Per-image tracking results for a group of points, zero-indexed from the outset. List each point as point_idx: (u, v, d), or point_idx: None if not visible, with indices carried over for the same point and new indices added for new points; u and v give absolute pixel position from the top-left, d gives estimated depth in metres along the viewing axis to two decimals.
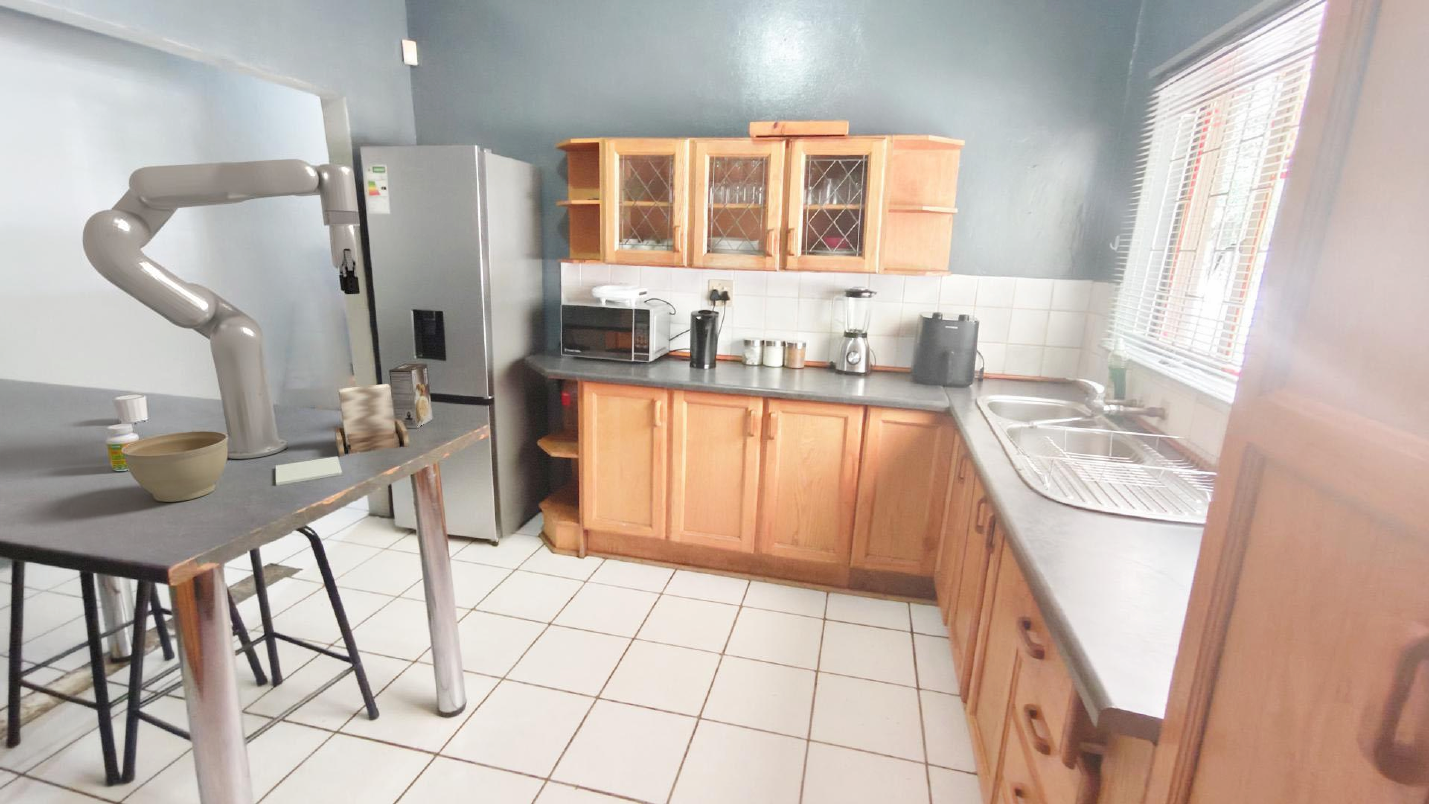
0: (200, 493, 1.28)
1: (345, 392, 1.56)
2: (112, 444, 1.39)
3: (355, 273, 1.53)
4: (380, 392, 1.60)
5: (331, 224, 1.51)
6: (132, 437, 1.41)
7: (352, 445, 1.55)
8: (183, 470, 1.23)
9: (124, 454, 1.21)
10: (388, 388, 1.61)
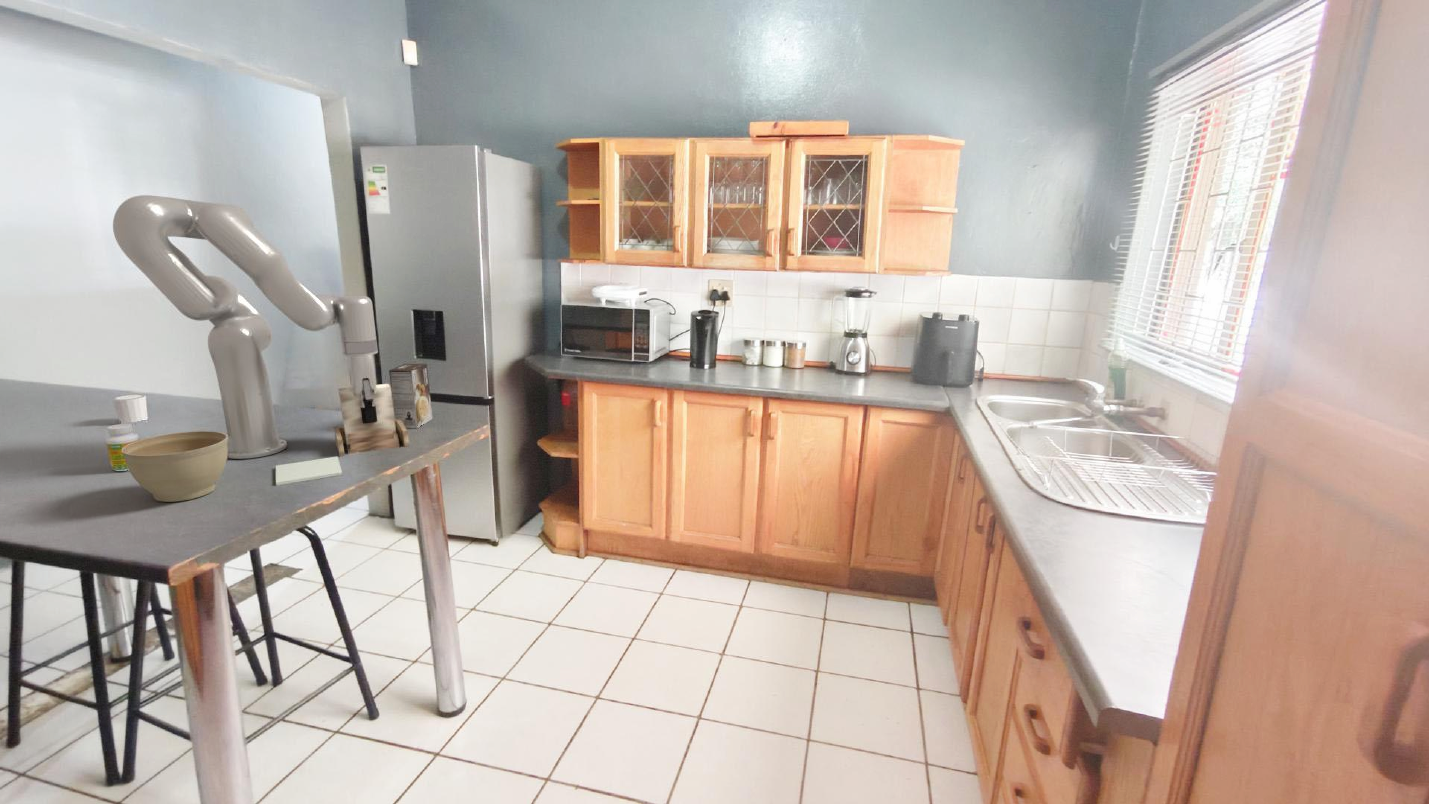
0: (200, 493, 1.28)
1: (345, 392, 1.56)
2: (112, 444, 1.39)
3: (373, 405, 1.59)
4: (380, 392, 1.60)
5: (350, 355, 1.54)
6: (132, 437, 1.41)
7: (352, 445, 1.55)
8: (183, 470, 1.23)
9: (124, 454, 1.21)
10: (388, 388, 1.61)
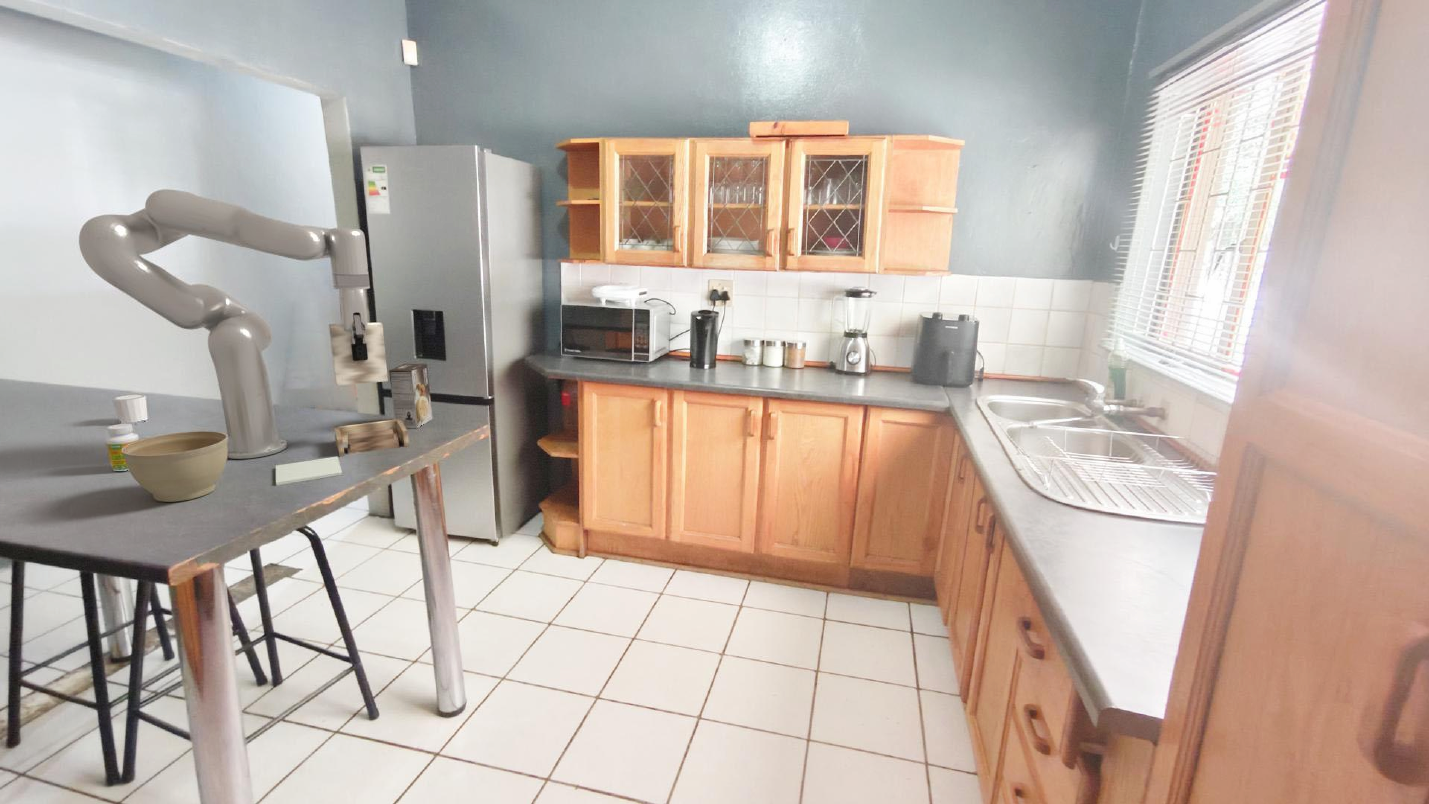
0: (200, 493, 1.28)
1: (336, 327, 1.52)
2: (112, 444, 1.39)
3: (364, 341, 1.55)
4: (372, 329, 1.56)
5: (341, 288, 1.50)
6: (132, 437, 1.41)
7: (351, 445, 1.55)
8: (183, 470, 1.23)
9: (124, 454, 1.21)
10: (380, 325, 1.57)
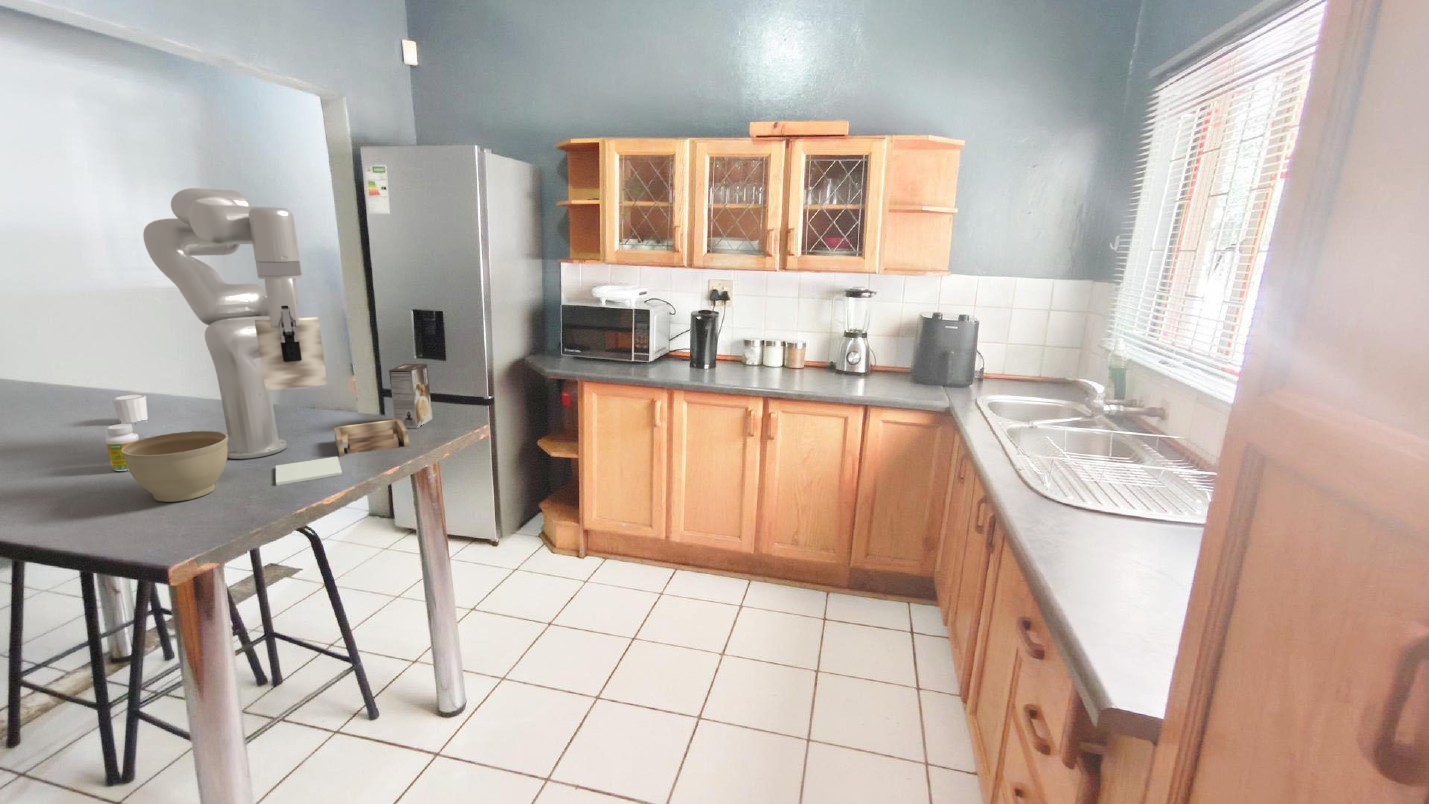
0: (200, 493, 1.28)
1: (262, 323, 1.31)
2: (112, 444, 1.39)
3: (296, 339, 1.33)
4: (306, 325, 1.35)
5: (266, 277, 1.29)
6: (132, 437, 1.41)
7: (351, 445, 1.55)
8: (183, 470, 1.23)
9: (124, 454, 1.21)
10: (316, 320, 1.36)
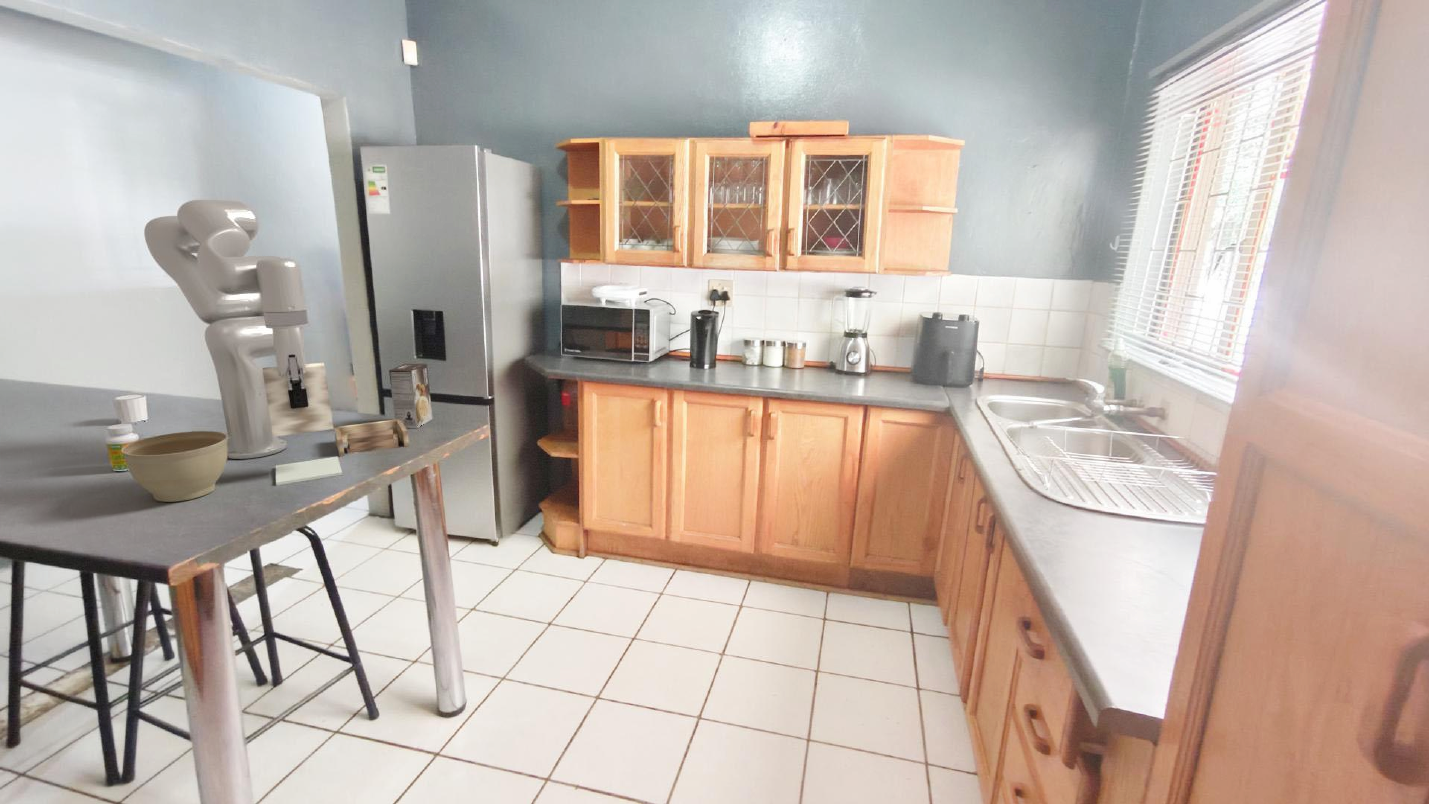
0: (200, 493, 1.28)
1: (269, 371, 1.33)
2: (112, 444, 1.39)
3: (302, 387, 1.36)
4: (313, 372, 1.38)
5: (273, 327, 1.31)
6: (132, 437, 1.41)
7: (351, 445, 1.55)
8: (183, 470, 1.23)
9: (124, 454, 1.21)
10: (322, 367, 1.38)
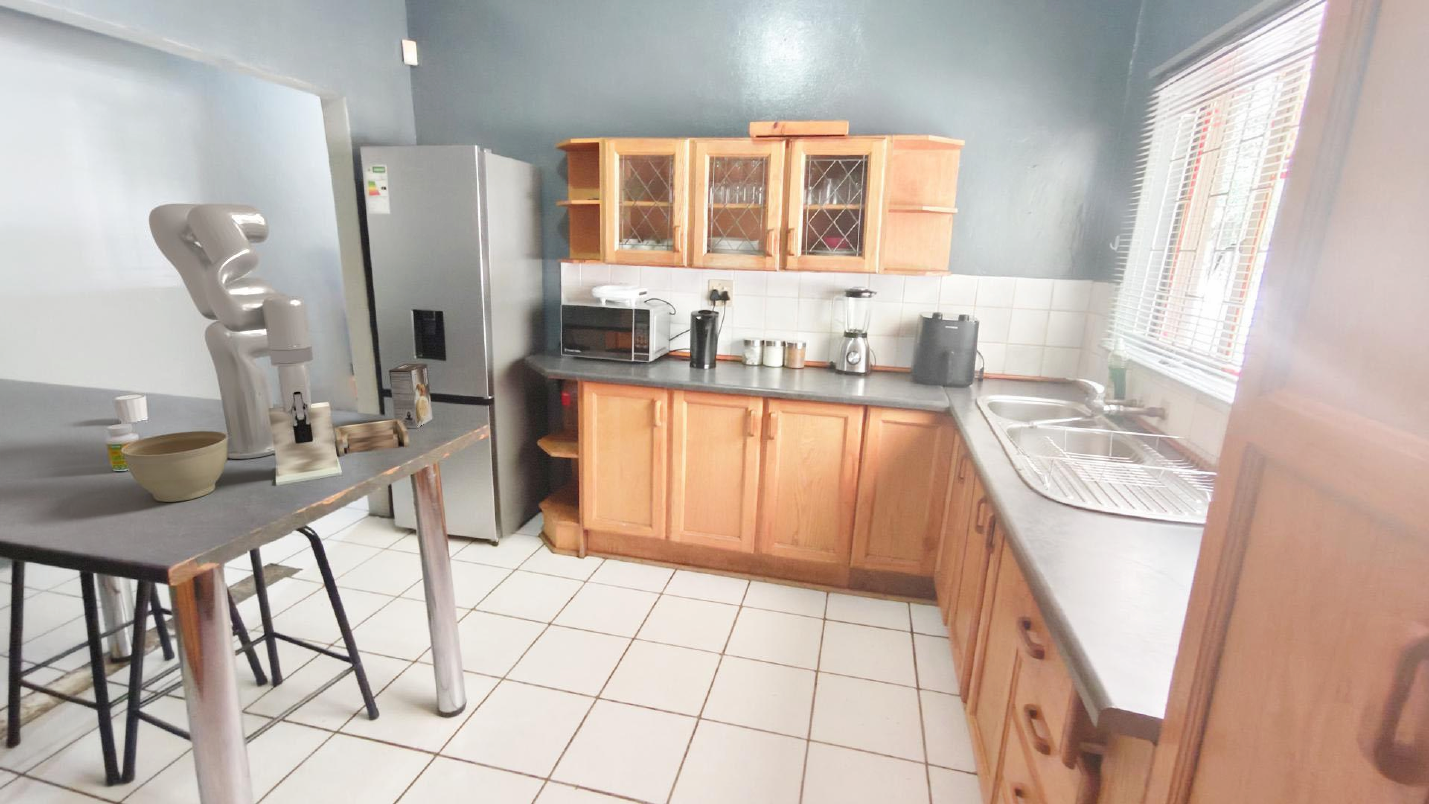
0: (200, 493, 1.28)
1: (275, 412, 1.36)
2: (112, 444, 1.39)
3: (307, 422, 1.37)
4: (318, 412, 1.40)
5: (279, 365, 1.33)
6: (132, 437, 1.41)
7: (351, 445, 1.55)
8: (183, 470, 1.23)
9: (124, 454, 1.21)
10: (327, 407, 1.41)
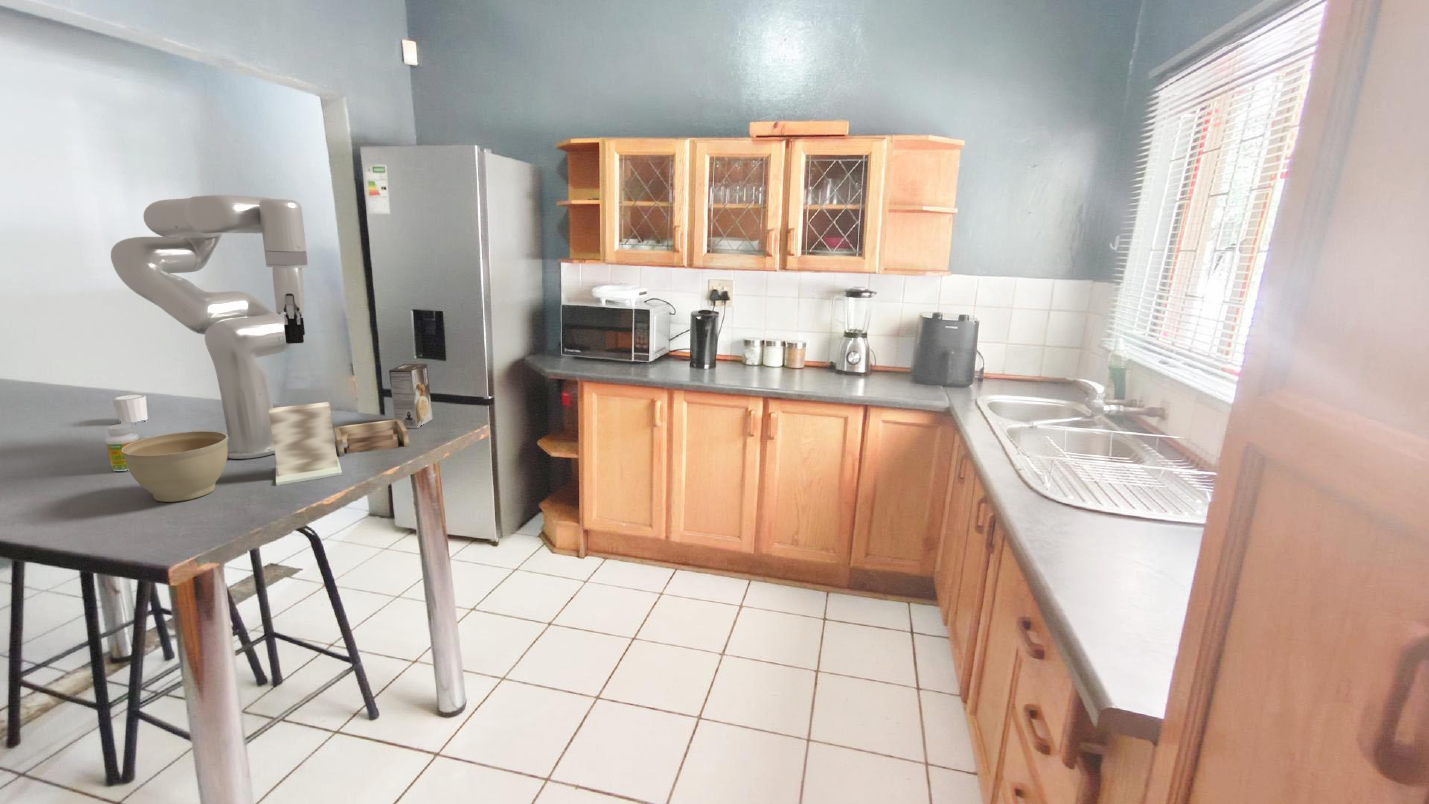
0: (200, 493, 1.28)
1: (275, 412, 1.36)
2: (112, 444, 1.39)
3: (298, 321, 1.37)
4: (318, 412, 1.40)
5: (273, 266, 1.35)
6: (132, 437, 1.41)
7: (350, 445, 1.55)
8: (183, 470, 1.23)
9: (124, 454, 1.21)
10: (327, 407, 1.41)
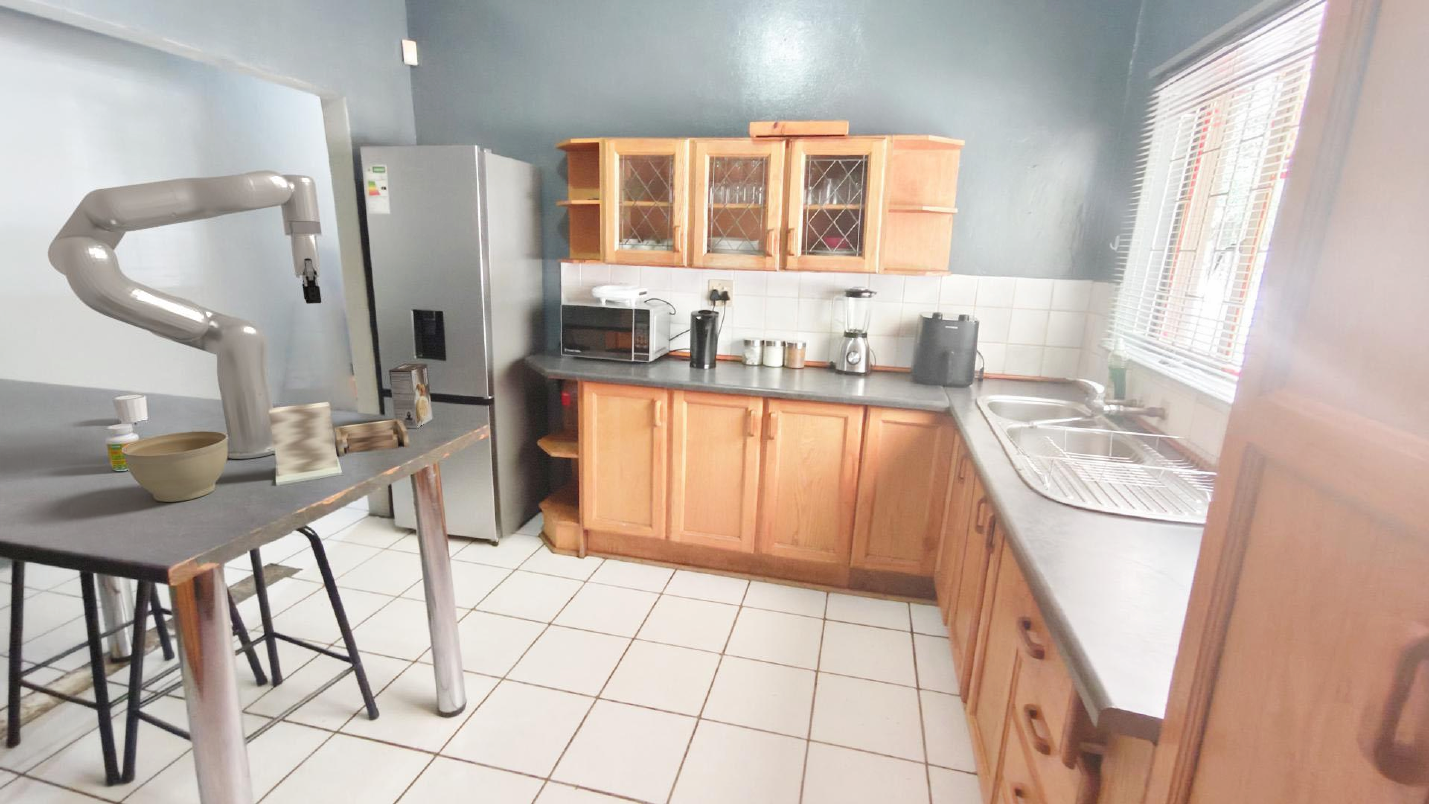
0: (200, 493, 1.28)
1: (275, 412, 1.36)
2: (112, 444, 1.39)
3: (316, 283, 1.55)
4: (318, 412, 1.40)
5: (292, 234, 1.53)
6: (132, 437, 1.41)
7: (350, 445, 1.55)
8: (183, 470, 1.23)
9: (124, 454, 1.21)
10: (327, 407, 1.41)
